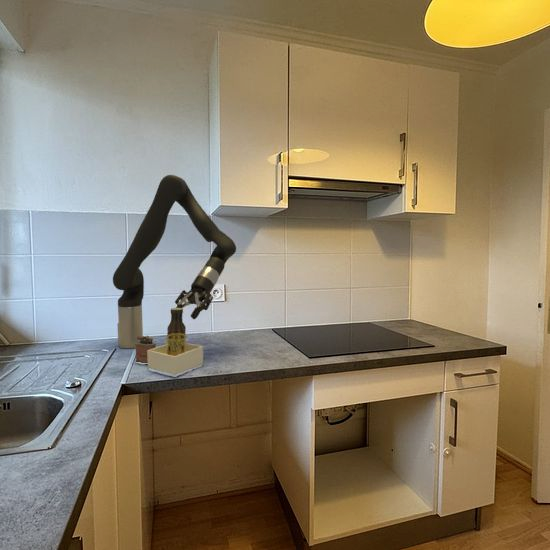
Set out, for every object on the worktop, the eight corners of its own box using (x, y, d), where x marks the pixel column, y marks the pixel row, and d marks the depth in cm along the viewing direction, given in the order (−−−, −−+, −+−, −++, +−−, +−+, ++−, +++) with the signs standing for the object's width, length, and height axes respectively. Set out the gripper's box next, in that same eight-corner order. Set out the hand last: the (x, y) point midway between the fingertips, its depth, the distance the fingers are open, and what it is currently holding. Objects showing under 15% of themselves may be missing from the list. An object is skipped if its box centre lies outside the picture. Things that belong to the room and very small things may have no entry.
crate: (147, 370, 113) (147, 350, 112) (176, 359, 124) (176, 341, 124) (175, 378, 107) (174, 357, 106) (203, 365, 118) (202, 346, 117)
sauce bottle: (166, 369, 112) (164, 310, 110) (167, 362, 118) (165, 307, 116) (186, 367, 113) (185, 309, 112) (186, 361, 119) (185, 306, 118)
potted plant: (158, 362, 121) (157, 335, 120) (152, 365, 117) (152, 338, 117) (139, 360, 123) (138, 334, 122) (133, 363, 120) (132, 336, 119)
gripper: (186, 273, 127) (163, 308, 118) (215, 275, 120) (193, 312, 111) (196, 286, 132) (175, 320, 123) (224, 288, 125) (204, 325, 116)
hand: (183, 316), depth 117 cm, fingers open, 8 cm apart
